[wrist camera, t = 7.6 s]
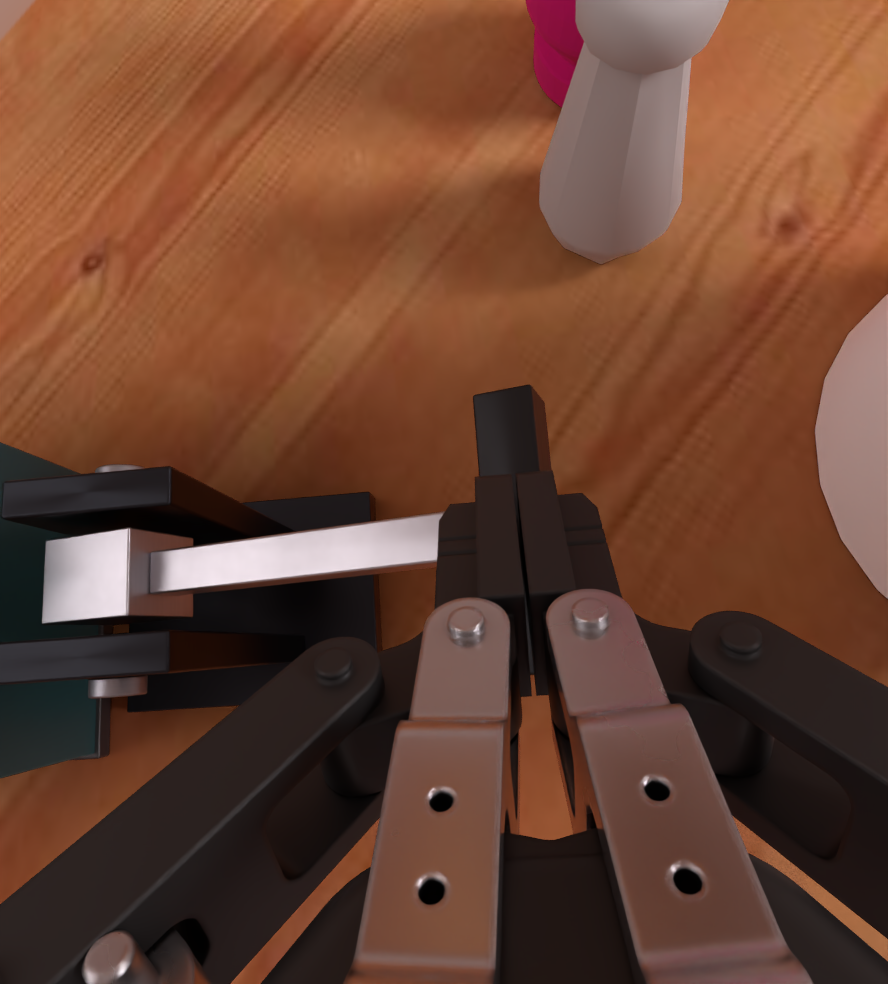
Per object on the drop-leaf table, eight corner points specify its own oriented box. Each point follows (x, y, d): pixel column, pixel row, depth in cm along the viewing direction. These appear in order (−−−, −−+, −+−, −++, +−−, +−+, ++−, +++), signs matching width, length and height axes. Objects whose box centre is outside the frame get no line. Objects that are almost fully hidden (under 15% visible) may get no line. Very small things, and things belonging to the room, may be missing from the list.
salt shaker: (683, 177, 32) (795, -125, 19) (653, 294, 31) (751, 55, 19) (554, 152, 33) (581, -153, 20) (521, 264, 32) (528, 18, 19)
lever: (550, 407, 17) (524, 374, 15) (577, 668, 16) (553, 675, 14) (117, 485, 22) (47, 468, 19) (111, 694, 20) (37, 702, 18)
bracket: (374, 497, 30) (280, 396, 18) (384, 694, 29) (288, 733, 16) (145, 516, 31) (-98, 433, 19) (142, 709, 30) (-128, 759, 17)
